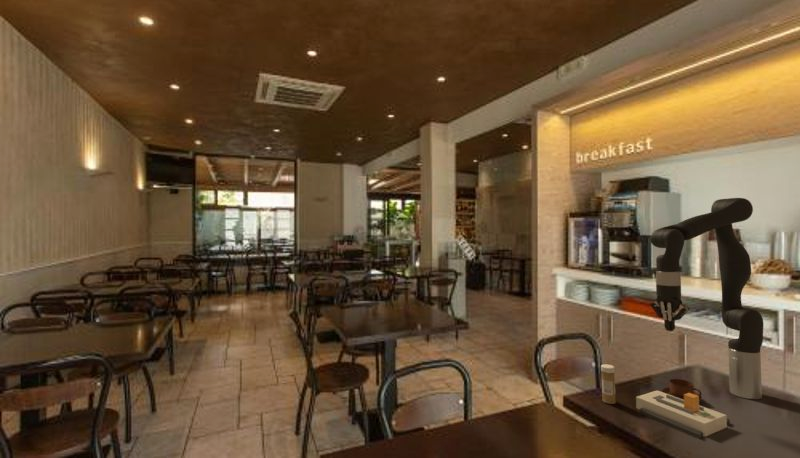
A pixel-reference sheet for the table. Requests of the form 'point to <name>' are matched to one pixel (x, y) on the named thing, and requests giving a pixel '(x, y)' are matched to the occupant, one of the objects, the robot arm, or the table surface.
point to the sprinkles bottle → (608, 383)
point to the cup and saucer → (681, 388)
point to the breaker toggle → (691, 402)
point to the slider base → (682, 412)
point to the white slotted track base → (673, 423)
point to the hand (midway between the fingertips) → (669, 330)
